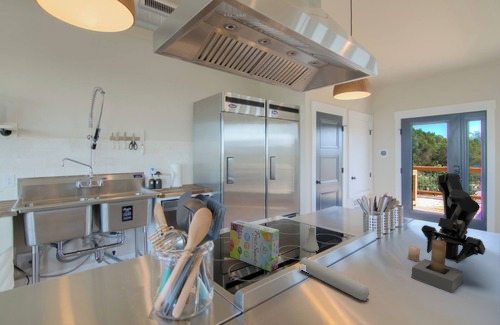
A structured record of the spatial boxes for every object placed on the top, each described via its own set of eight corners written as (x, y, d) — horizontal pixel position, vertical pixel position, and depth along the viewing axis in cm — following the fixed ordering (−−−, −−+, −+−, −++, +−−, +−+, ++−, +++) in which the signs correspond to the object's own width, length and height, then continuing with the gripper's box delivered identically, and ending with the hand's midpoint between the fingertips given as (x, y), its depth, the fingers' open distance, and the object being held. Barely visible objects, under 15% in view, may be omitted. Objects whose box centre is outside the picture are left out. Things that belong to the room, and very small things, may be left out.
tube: (373, 286, 80) (309, 257, 99) (366, 286, 77) (301, 256, 96) (370, 303, 79) (306, 271, 99) (362, 304, 76) (297, 270, 95)
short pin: (410, 256, 112) (410, 245, 112) (420, 260, 109) (421, 248, 108) (406, 259, 109) (407, 247, 109) (416, 262, 106) (417, 250, 106)
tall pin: (432, 275, 95) (434, 238, 94) (445, 280, 92) (447, 242, 91) (428, 279, 93) (430, 241, 92) (441, 283, 89) (444, 244, 89)
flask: (306, 245, 123) (307, 224, 122) (321, 249, 118) (322, 227, 118) (300, 249, 117) (301, 228, 116) (315, 254, 113) (316, 231, 112)
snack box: (278, 267, 99) (280, 229, 98) (270, 272, 95) (271, 232, 94) (237, 252, 112) (238, 218, 111) (228, 256, 108) (229, 221, 107)
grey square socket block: (424, 268, 101) (424, 258, 100) (462, 281, 91) (463, 271, 91) (411, 277, 93) (412, 266, 93) (451, 292, 84) (452, 281, 84)
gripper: (425, 205, 103) (407, 236, 98) (484, 216, 86) (465, 254, 82) (434, 221, 107) (417, 252, 103) (492, 236, 90) (475, 273, 86)
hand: (441, 257), depth 93 cm, fingers open, 9 cm apart
